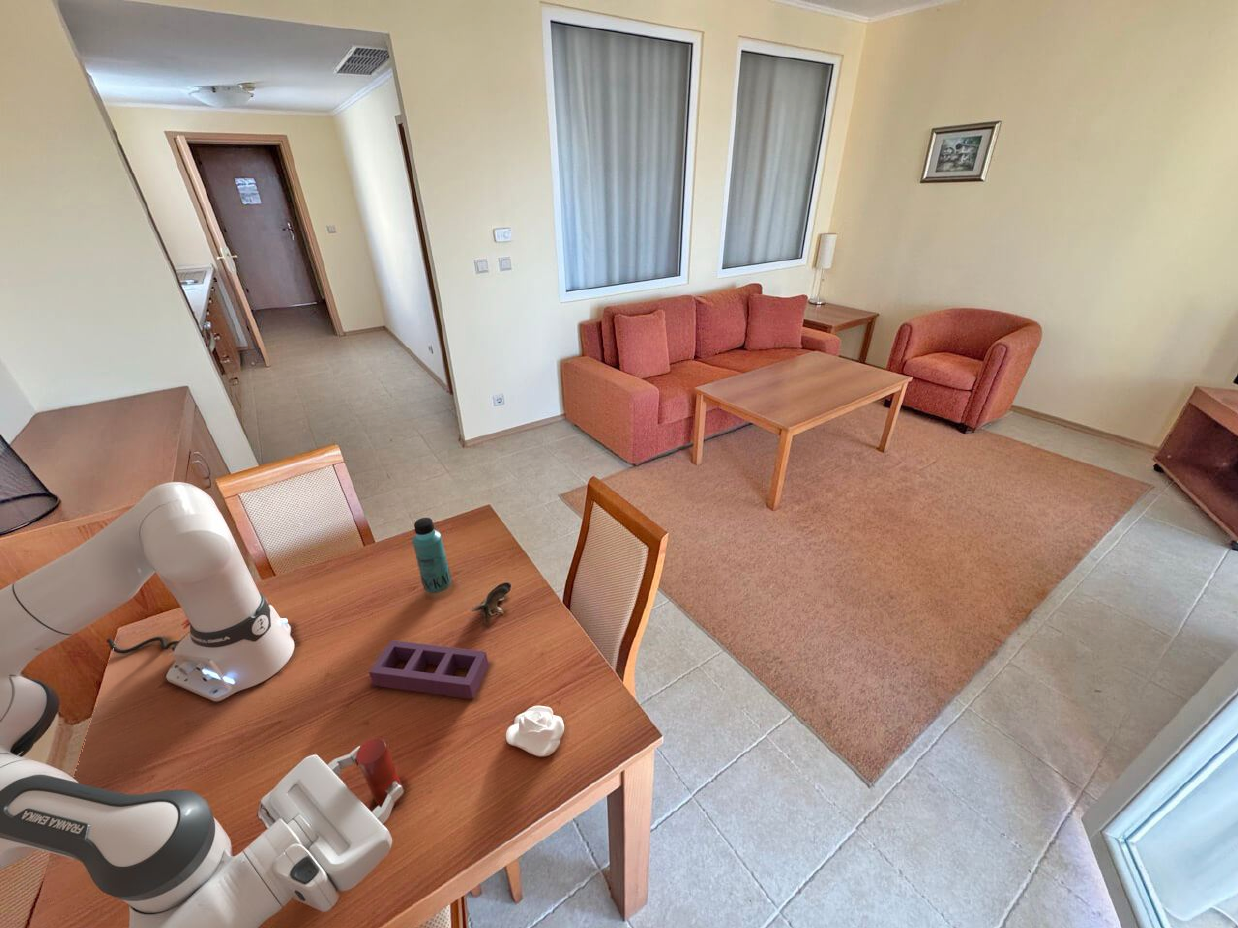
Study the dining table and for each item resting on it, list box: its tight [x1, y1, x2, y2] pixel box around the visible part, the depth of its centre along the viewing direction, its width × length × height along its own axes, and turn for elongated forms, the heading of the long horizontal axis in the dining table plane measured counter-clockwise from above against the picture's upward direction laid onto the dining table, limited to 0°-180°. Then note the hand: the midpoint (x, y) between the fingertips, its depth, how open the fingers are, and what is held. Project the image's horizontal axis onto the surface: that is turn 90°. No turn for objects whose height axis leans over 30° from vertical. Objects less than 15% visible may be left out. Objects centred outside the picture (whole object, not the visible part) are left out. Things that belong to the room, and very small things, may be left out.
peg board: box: [368, 639, 489, 700], centre depth 97 cm, size 20×8×4 cm, turn 81°
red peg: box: [356, 737, 404, 807], centre depth 76 cm, size 4×4×12 cm
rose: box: [505, 705, 565, 757], centre depth 86 cm, size 10×4×10 cm
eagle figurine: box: [470, 581, 512, 626], centre depth 112 cm, size 8×7×9 cm
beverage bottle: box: [411, 517, 452, 594], centre depth 115 cm, size 6×7×20 cm
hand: (381, 767), depth 76 cm, fingers open, 8 cm apart
